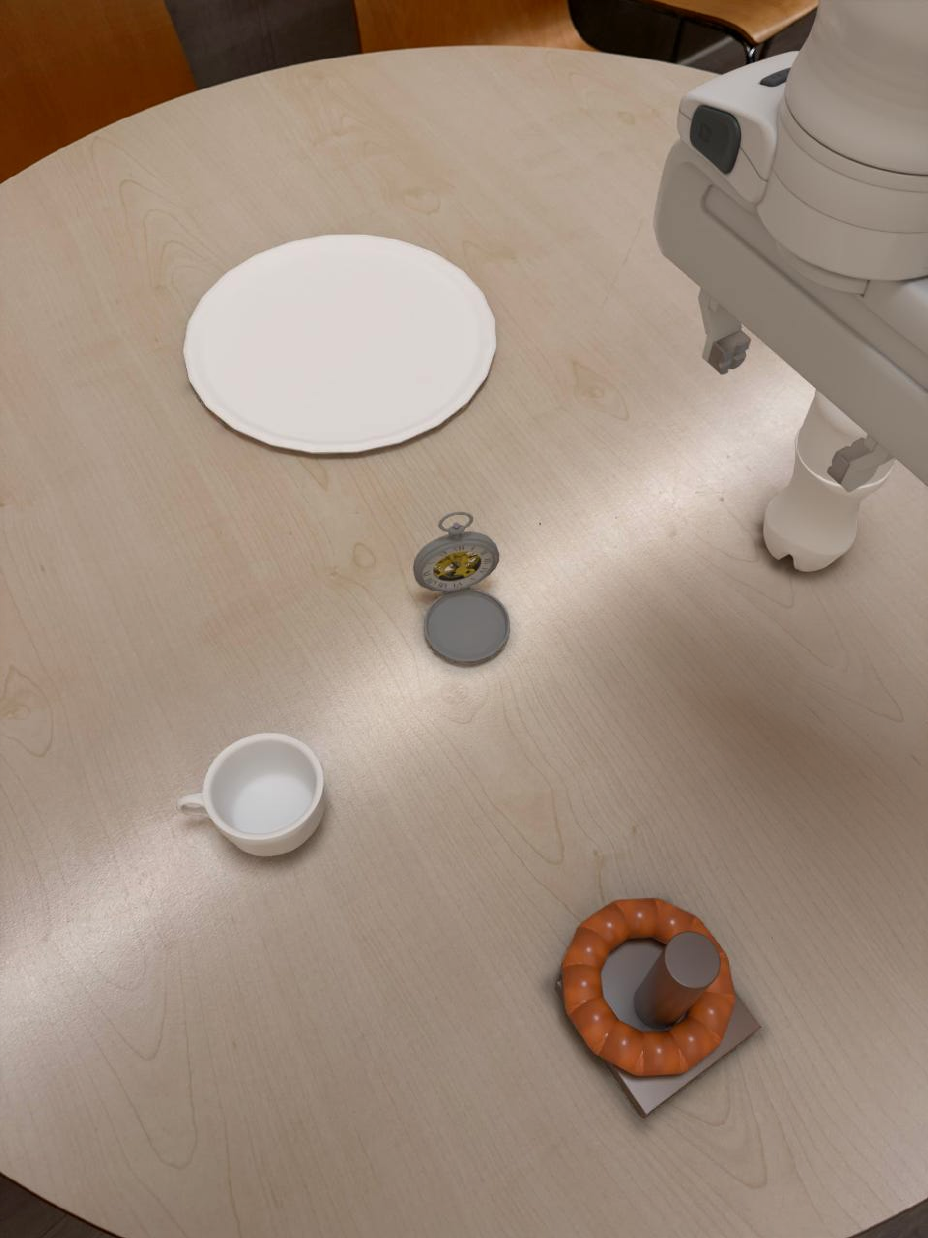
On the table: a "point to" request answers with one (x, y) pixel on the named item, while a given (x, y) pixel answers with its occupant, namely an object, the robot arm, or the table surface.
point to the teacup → (262, 794)
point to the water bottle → (818, 493)
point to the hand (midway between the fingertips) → (782, 418)
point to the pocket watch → (461, 595)
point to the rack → (665, 1003)
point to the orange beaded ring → (597, 1018)
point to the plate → (339, 343)
